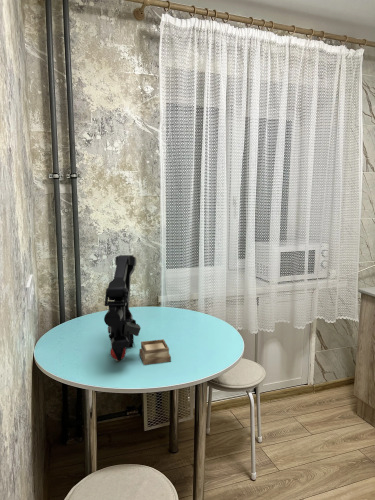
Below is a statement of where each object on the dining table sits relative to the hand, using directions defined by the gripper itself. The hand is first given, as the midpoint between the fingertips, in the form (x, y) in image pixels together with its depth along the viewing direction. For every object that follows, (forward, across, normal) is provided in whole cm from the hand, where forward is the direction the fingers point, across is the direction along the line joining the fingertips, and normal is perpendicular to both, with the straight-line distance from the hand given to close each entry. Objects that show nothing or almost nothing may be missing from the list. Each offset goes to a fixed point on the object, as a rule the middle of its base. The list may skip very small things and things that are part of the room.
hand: (118, 356), depth 144 cm
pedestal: (+2, -1, -14) cm, 14 cm away
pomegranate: (+2, 0, 0) cm, 2 cm away
